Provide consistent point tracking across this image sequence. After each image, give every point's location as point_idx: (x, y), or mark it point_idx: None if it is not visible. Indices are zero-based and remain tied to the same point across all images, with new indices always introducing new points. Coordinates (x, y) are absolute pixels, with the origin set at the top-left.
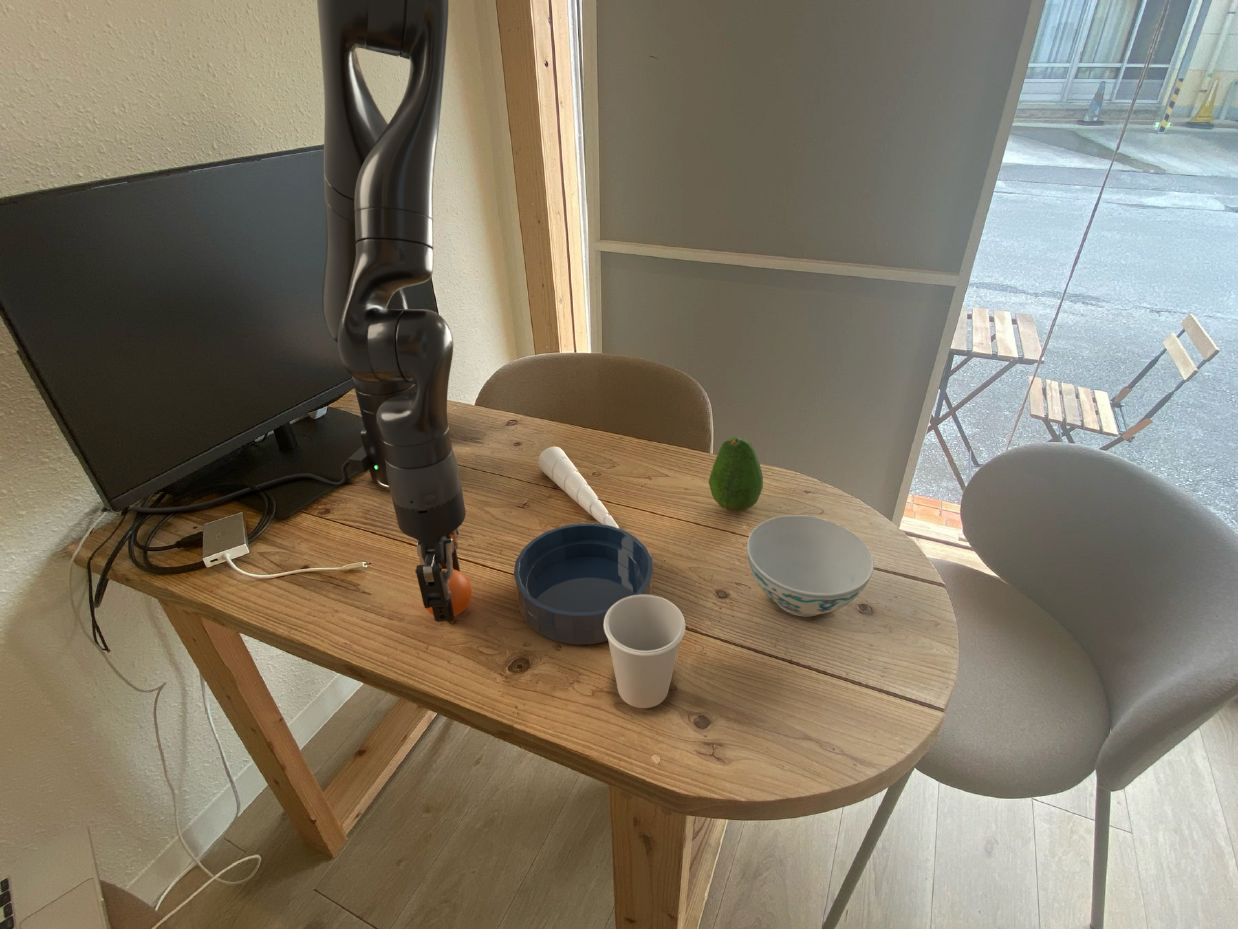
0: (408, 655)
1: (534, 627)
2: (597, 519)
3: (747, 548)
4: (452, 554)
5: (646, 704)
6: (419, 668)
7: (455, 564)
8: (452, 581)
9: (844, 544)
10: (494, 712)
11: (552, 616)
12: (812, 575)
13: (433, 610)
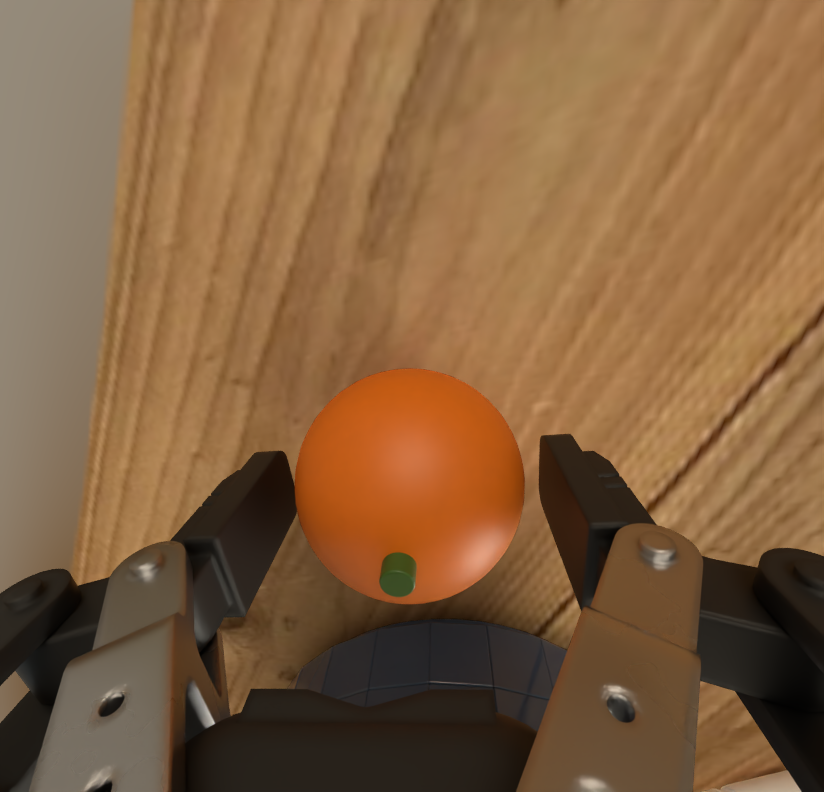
0: (195, 324)
1: (311, 670)
2: (776, 790)
3: None
4: (582, 598)
5: None
6: (151, 375)
7: (558, 541)
8: (367, 592)
9: None
10: (77, 572)
11: None
12: None
13: (229, 488)
